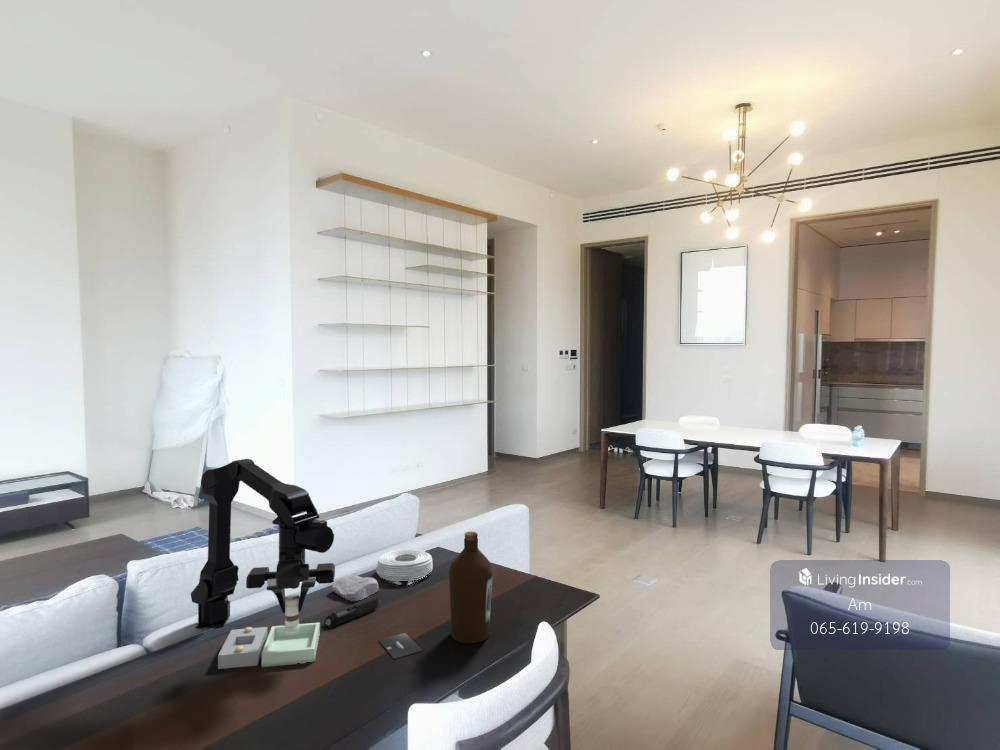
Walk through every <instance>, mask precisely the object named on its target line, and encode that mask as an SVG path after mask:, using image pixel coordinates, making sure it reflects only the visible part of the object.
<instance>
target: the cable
mask: <svg viewBox="0 0 1000 750" xmlns="http://www.w3.org/2000/svg"><path fill="white" fill-rule="evenodd" d="M376 565H377V566H376V568H375V570H376V574H377V575H378V576H379V577H380V578H381V579H382V578H383V579H382V580H384V579H386V580H385V581H387V580H391V581H395V582H394V583H396V584H398V585H400V586H401V585H402V584H403V582H399V581H408V582H407V583H406V585H410V584H412V583H413V582H414V580H418V579H420V580H422V579H424V578H423V577H425V576H426V575H427V574H429V573H430V572H431V573H432V571H433V566H434V565H433V558H432V554H430V553H428V552H427V551H424V550H422V549H415V548H400V549H395V550H391V551H388V552H386V553H384V554H382V555H381V556H379V558H378V559H377V564H376ZM431 573H430V574H431ZM430 574H429V575H430ZM426 577H427V576H426ZM426 577H425V578H426ZM421 578H422V579H421ZM412 581H413V582H412ZM406 585H405V586H406ZM412 585H413V584H412ZM410 586H411V585H410Z"/></svg>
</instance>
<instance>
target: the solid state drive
mask: <svg viewBox="0 0 1000 750" xmlns="http://www.w3.org/2000/svg"><path fill="white" fill-rule="evenodd" d="M378 641H379V642H378V643H379V644H380V645H381V647H382V648H383V647H384V648H385V649H386V650H385V649H384V648H383V649H384V650H385V651H386V652H387V653H388V655H391V656H390V657H391V658H392V659H393V660H398V659H401V658H404V657H408V656H412V655H415V654H418V653H422V652H423V649H422V648H421V647H420V646H419V645H418V644H417V643H416V642H415V641H414V640H413V639H412V638H411V637H410V636H409V635H408V634H407V633H406V632H403V633H399V634H395V635H391V636H388V637H385V638H381V639H378Z"/></svg>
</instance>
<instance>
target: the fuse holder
mask: <svg viewBox="0 0 1000 750" xmlns="http://www.w3.org/2000/svg"><path fill="white" fill-rule="evenodd" d="M268 635H269V634H268V626H262V627H260V626H259V627H252V626H247V627H245V628H239V629H238V628H237V629H231V630H230V632H229V634H228V636H227V637H226V639H225V642H224V644H223V645H222V647H221V649H220V651H219V653H218V655H217V669H218V670H222V669H224V670H225V669H230V668H231V669H232V668H234V669H235V668H245V667H253V666H254V667H256V666H258V665H259V662H260V660H261V659H262V651H263V649H264V646H265V643H266V641H267V638H268Z"/></svg>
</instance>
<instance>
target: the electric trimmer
mask: <svg viewBox="0 0 1000 750" xmlns="http://www.w3.org/2000/svg"><path fill="white" fill-rule="evenodd" d="M378 606H379V599H378V598H374V599H371V600H368V601H365V602H362V603H360V604H357V605H354V606H352V607H348V608H346V609H343V610H340V611H337V612H331V613H330V615H327V616H326V618H325V619H324V621H323V626H324V625H325V626H327V627H328V628H327V627H326V628H327V629H329V628H331V629H332V628H333V629H335V627H336V626H338V625H340V624H342V623H344V622H347V621H349V620H351V619H354V618H361V617H363V616H364V615H367V614H368V613H370V612H372V611H374V610H376V609H377V608H378ZM325 626H324V627H325Z"/></svg>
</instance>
